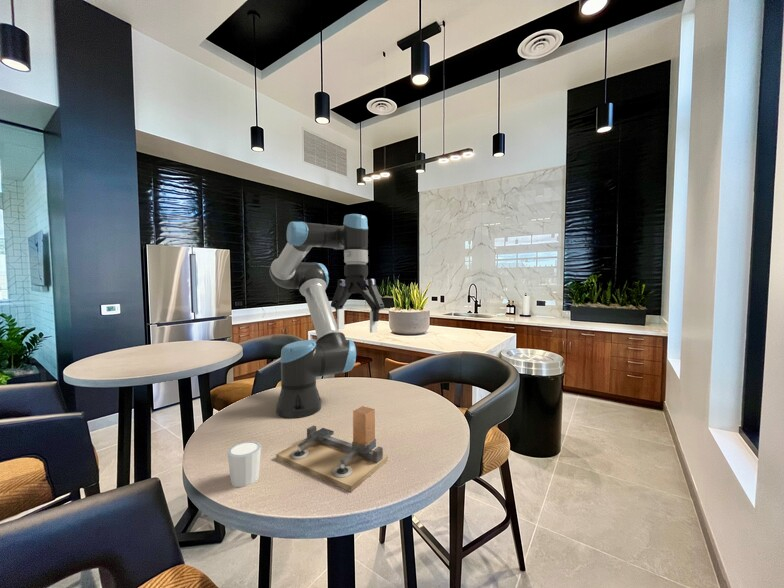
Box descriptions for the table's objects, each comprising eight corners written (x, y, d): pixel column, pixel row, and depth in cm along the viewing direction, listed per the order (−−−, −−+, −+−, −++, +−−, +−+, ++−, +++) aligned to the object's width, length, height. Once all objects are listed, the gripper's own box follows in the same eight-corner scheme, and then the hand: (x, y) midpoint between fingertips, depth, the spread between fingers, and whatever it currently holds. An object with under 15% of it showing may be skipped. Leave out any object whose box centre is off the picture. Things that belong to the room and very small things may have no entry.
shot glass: (235, 471, 74) (235, 441, 74) (265, 469, 74) (265, 440, 74) (222, 489, 67) (221, 457, 67) (255, 488, 68) (255, 455, 67)
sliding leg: (334, 468, 72) (334, 420, 72) (363, 447, 81) (362, 405, 81) (348, 473, 70) (347, 424, 70) (376, 452, 79) (375, 408, 79)
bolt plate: (276, 459, 79) (276, 443, 79) (317, 436, 91) (317, 422, 91) (351, 492, 66) (351, 473, 66) (387, 460, 78) (387, 444, 78)
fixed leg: (292, 451, 79) (292, 443, 79) (323, 434, 88) (322, 427, 88) (303, 455, 77) (303, 448, 77) (333, 438, 86) (333, 431, 86)
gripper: (319, 264, 105) (320, 328, 106) (381, 261, 91) (381, 335, 92) (335, 266, 111) (336, 326, 112) (395, 263, 98) (395, 331, 98)
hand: (356, 330), depth 102 cm, fingers open, 13 cm apart
